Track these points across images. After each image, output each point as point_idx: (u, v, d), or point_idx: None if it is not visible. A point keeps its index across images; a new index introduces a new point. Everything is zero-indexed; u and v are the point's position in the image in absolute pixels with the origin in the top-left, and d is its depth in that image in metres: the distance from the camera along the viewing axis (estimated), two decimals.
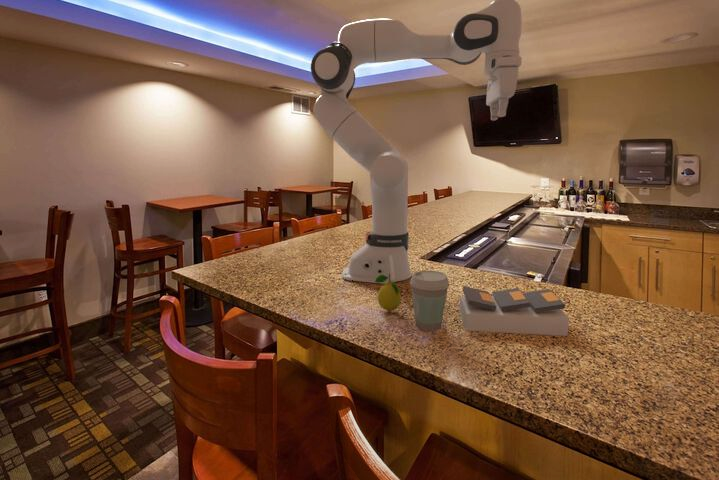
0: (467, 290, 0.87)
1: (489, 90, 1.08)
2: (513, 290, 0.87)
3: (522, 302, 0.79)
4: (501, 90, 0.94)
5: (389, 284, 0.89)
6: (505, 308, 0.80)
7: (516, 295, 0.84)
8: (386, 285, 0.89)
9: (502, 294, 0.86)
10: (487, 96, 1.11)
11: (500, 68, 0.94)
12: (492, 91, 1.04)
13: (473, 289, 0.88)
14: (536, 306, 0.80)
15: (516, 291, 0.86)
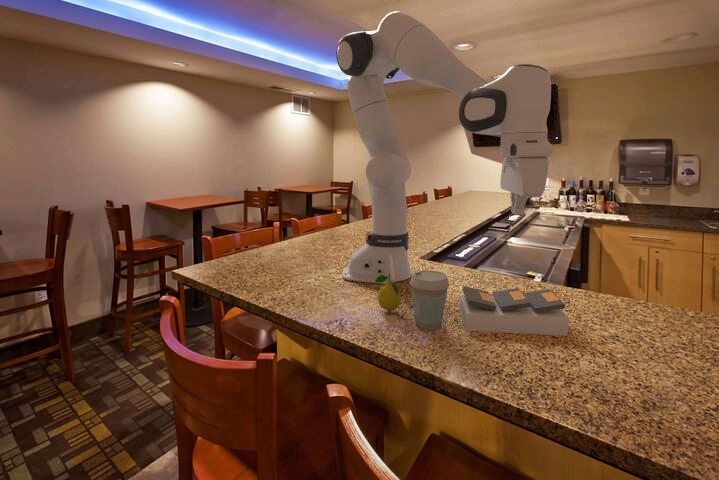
0: (467, 290, 0.87)
1: (505, 173, 0.83)
2: (513, 290, 0.87)
3: (522, 302, 0.79)
4: (525, 190, 0.69)
5: (389, 284, 0.89)
6: (505, 308, 0.80)
7: (516, 295, 0.84)
8: (386, 285, 0.89)
9: (502, 294, 0.86)
10: (502, 178, 0.86)
11: (523, 160, 0.69)
12: (510, 179, 0.79)
13: (473, 289, 0.88)
14: (536, 306, 0.80)
15: (516, 291, 0.86)
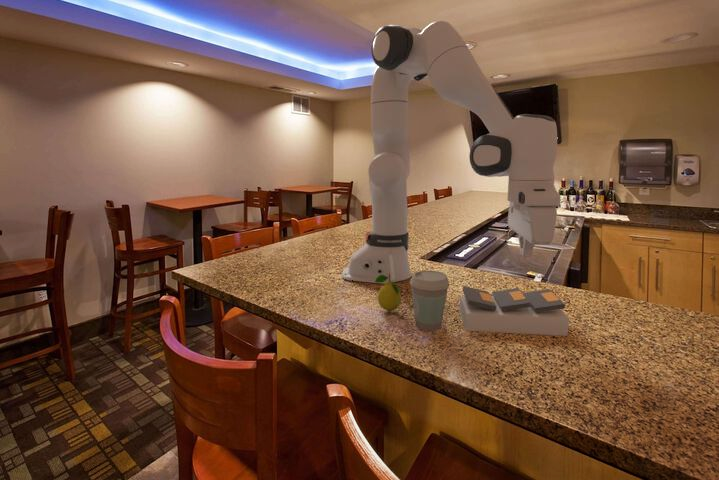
0: (467, 290, 0.87)
1: (513, 214, 0.85)
2: (513, 290, 0.87)
3: (522, 302, 0.79)
4: (534, 239, 0.71)
5: (389, 284, 0.89)
6: (505, 308, 0.80)
7: (516, 295, 0.84)
8: (386, 285, 0.89)
9: (502, 294, 0.86)
10: (509, 218, 0.88)
11: (532, 209, 0.71)
12: (518, 222, 0.81)
13: (473, 289, 0.88)
14: (536, 306, 0.80)
15: (516, 291, 0.86)
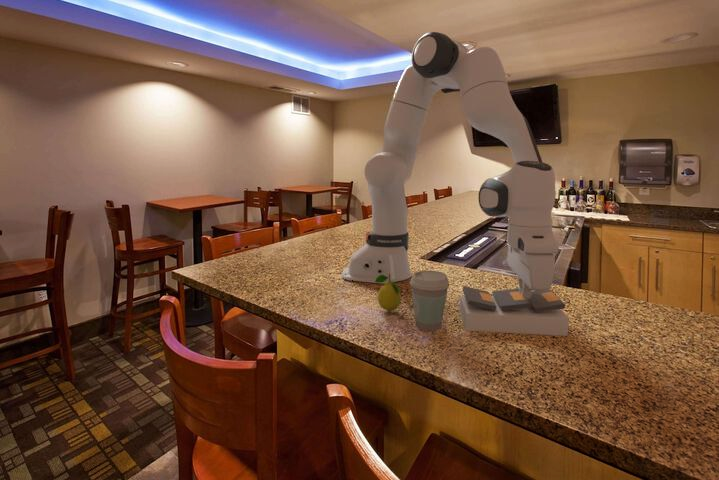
0: (467, 290, 0.87)
1: (512, 254, 0.87)
2: (513, 290, 0.87)
3: (523, 303, 0.79)
4: (533, 285, 0.73)
5: (389, 284, 0.89)
6: (505, 308, 0.80)
7: (516, 295, 0.84)
8: (386, 285, 0.89)
9: (502, 294, 0.86)
10: (509, 256, 0.90)
11: (531, 257, 0.73)
12: (517, 263, 0.83)
13: (473, 289, 0.88)
14: (536, 306, 0.80)
15: (516, 291, 0.86)
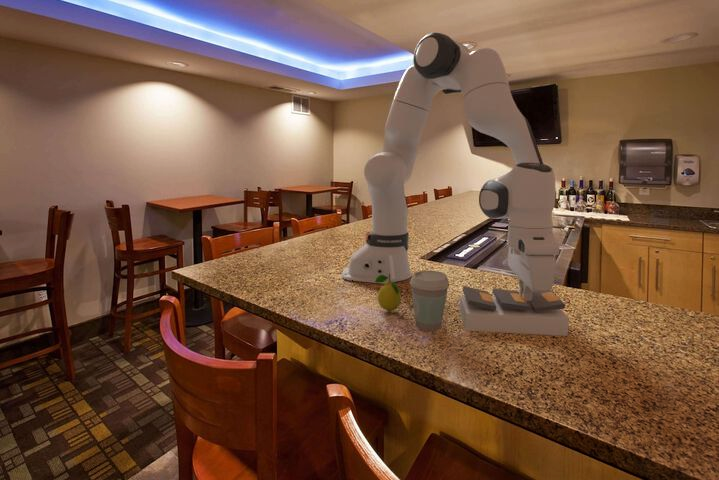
0: (467, 290, 0.87)
1: (512, 256, 0.87)
2: (514, 292, 0.87)
3: (523, 305, 0.80)
4: (534, 287, 0.73)
5: (389, 284, 0.89)
6: (505, 305, 0.80)
7: (517, 297, 0.84)
8: (386, 285, 0.89)
9: (503, 292, 0.86)
10: (509, 258, 0.90)
11: (531, 258, 0.73)
12: (518, 265, 0.83)
13: (473, 289, 0.88)
14: (536, 306, 0.80)
15: (517, 294, 0.86)
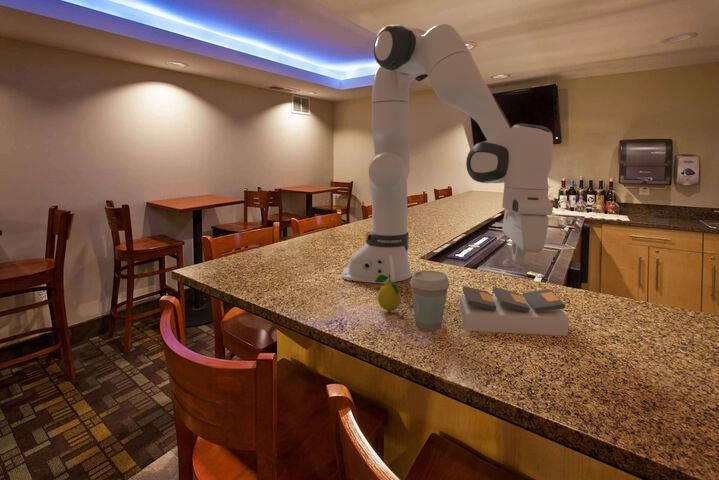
0: (467, 290, 0.87)
1: (507, 220, 0.87)
2: (514, 293, 0.87)
3: (523, 306, 0.80)
4: (525, 246, 0.73)
5: (389, 284, 0.89)
6: (505, 304, 0.80)
7: (517, 298, 0.84)
8: (386, 285, 0.89)
9: (503, 292, 0.86)
10: (504, 224, 0.89)
11: (524, 217, 0.73)
12: (511, 228, 0.83)
13: (473, 289, 0.88)
14: (536, 306, 0.80)
15: (517, 295, 0.86)
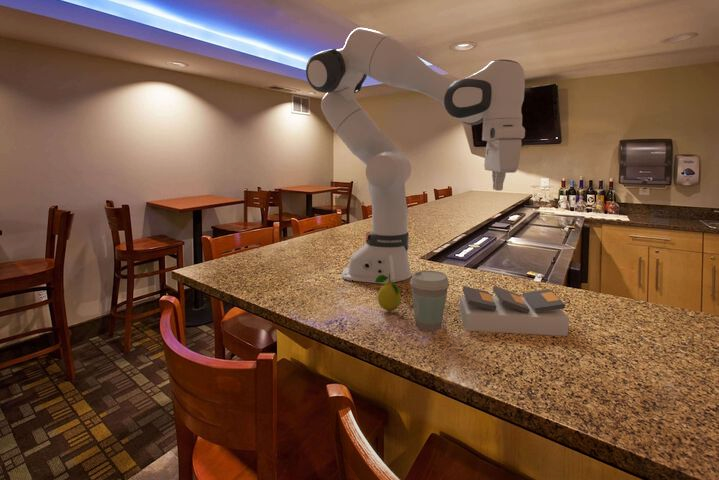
0: (467, 290, 0.87)
1: (488, 155, 0.96)
2: (514, 294, 0.87)
3: (523, 306, 0.80)
4: (501, 166, 0.81)
5: (389, 284, 0.89)
6: (506, 303, 0.80)
7: (517, 298, 0.84)
8: (386, 285, 0.89)
9: (504, 292, 0.86)
10: (485, 160, 0.98)
11: (500, 141, 0.81)
12: (491, 159, 0.91)
13: (473, 289, 0.88)
14: (536, 306, 0.80)
15: (517, 296, 0.86)
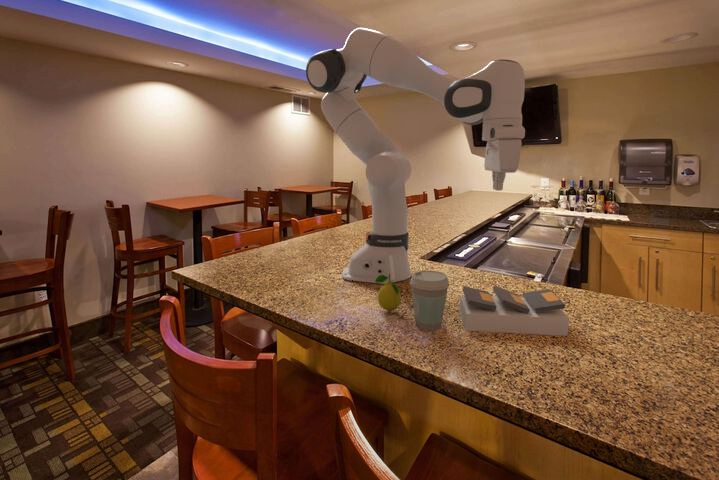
0: (467, 290, 0.87)
1: (488, 155, 0.96)
2: (514, 294, 0.87)
3: (523, 306, 0.80)
4: (501, 166, 0.81)
5: (389, 284, 0.89)
6: (506, 303, 0.80)
7: (517, 299, 0.84)
8: (386, 285, 0.89)
9: (504, 291, 0.86)
10: (485, 160, 0.98)
11: (500, 141, 0.81)
12: (491, 159, 0.91)
13: (473, 289, 0.88)
14: (536, 306, 0.80)
15: (517, 296, 0.86)
